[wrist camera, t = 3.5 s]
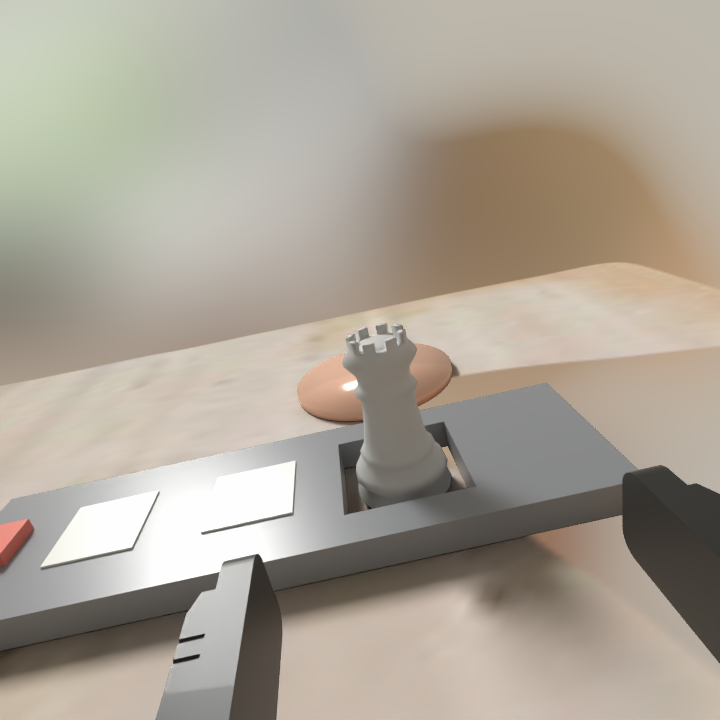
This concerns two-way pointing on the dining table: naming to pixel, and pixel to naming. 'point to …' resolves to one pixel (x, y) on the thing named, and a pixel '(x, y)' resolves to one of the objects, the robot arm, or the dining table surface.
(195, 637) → the robot arm
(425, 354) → the peach dome
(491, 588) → the dining table surface
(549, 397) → the power strip
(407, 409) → the rook chess piece
